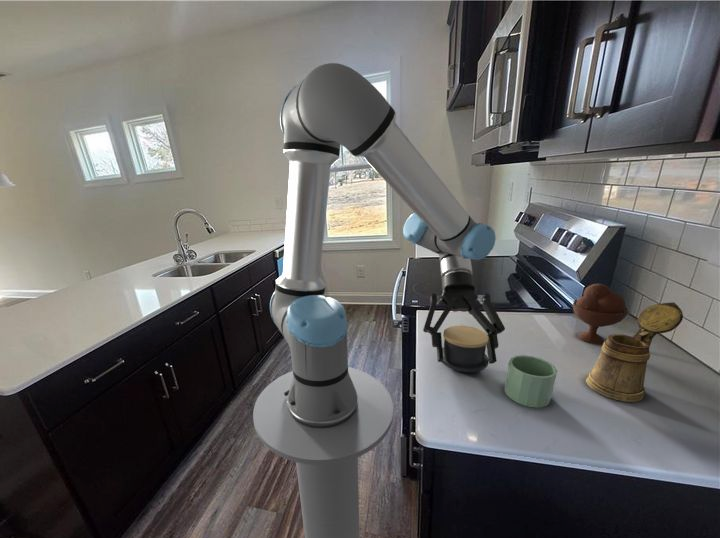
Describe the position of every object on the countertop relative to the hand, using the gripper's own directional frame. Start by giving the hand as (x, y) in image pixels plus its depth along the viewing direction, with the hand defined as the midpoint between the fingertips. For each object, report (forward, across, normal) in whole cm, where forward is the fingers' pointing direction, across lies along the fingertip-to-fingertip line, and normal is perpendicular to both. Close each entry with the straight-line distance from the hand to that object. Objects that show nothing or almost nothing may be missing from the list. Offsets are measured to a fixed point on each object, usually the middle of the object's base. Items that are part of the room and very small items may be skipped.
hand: (466, 361), depth 73 cm
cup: (+7, -10, +3) cm, 13 cm away
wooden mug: (+4, -30, -1) cm, 31 cm away
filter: (0, 0, -4) cm, 4 cm away
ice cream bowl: (-11, -36, -16) cm, 41 cm away
